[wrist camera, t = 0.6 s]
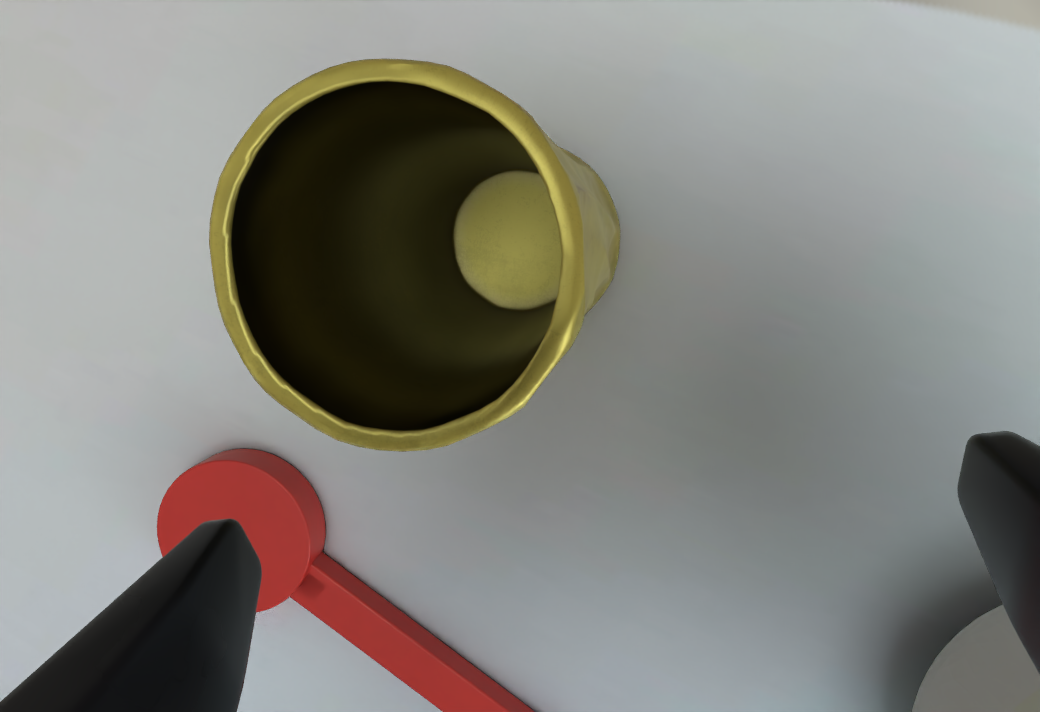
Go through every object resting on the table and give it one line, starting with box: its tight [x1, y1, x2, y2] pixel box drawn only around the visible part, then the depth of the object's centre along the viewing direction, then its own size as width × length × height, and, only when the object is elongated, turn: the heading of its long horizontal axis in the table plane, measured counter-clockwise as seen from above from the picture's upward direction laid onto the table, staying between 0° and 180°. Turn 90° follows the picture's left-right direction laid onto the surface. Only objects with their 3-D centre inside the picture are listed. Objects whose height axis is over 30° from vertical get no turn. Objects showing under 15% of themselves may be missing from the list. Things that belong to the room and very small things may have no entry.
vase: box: [209, 59, 620, 452], centre depth 17 cm, size 6×6×14 cm
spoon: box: [157, 449, 535, 712], centre depth 26 cm, size 6×18×1 cm, turn 54°
